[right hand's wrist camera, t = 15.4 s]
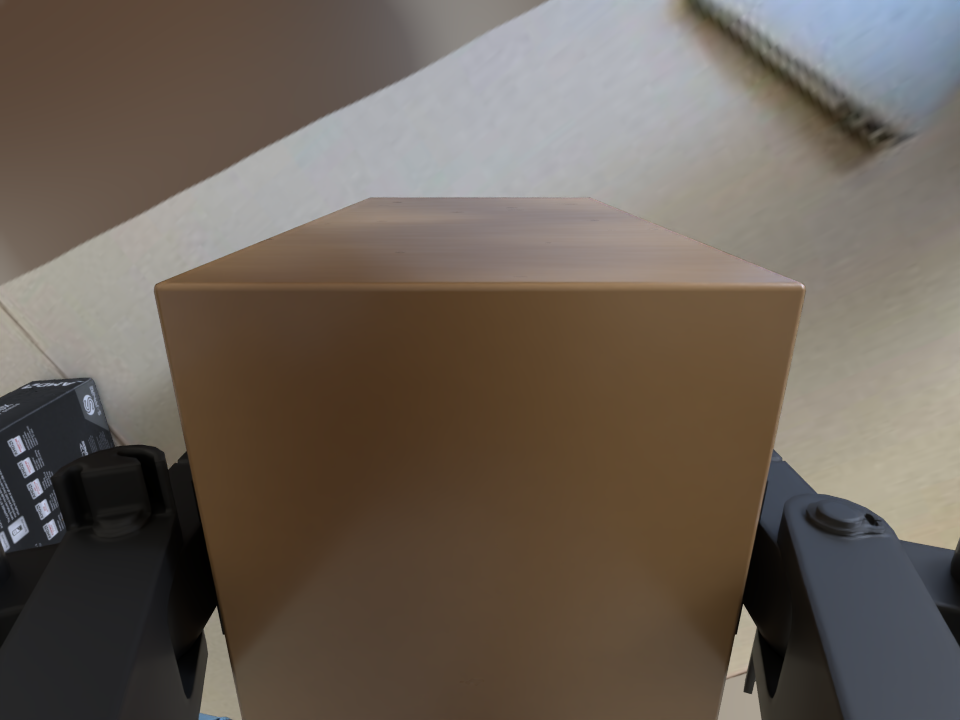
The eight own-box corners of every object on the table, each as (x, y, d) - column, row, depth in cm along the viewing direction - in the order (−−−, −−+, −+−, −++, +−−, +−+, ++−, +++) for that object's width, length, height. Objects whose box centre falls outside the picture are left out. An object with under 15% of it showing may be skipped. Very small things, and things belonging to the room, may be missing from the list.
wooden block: (591, 197, 16) (810, 283, 5) (574, 465, 19) (691, 856, 8) (368, 197, 16) (149, 283, 5) (385, 465, 19) (268, 857, 8)
